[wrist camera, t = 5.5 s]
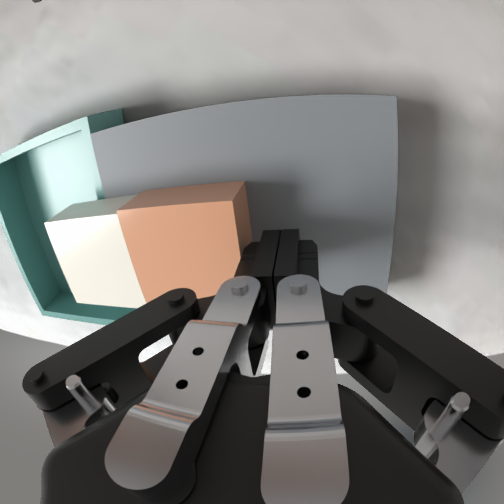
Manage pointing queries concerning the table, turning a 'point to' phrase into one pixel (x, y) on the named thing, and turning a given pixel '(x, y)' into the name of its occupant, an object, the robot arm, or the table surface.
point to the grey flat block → (279, 170)
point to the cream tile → (95, 253)
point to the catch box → (52, 209)
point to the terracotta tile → (186, 236)
